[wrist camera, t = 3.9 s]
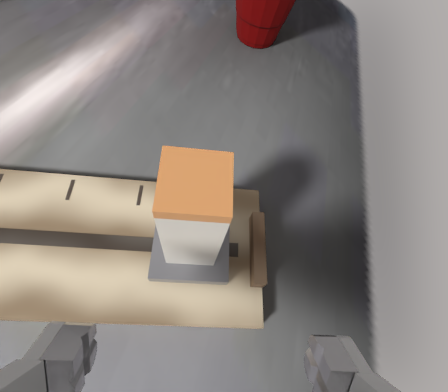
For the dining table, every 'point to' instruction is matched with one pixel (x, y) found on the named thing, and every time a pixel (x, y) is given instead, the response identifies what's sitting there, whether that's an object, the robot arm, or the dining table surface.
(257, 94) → the dining table surface
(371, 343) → the dining table surface
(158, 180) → the fader handle
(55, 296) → the fader console
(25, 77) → the dining table surface
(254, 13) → the plastic cup
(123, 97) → the dining table surface
